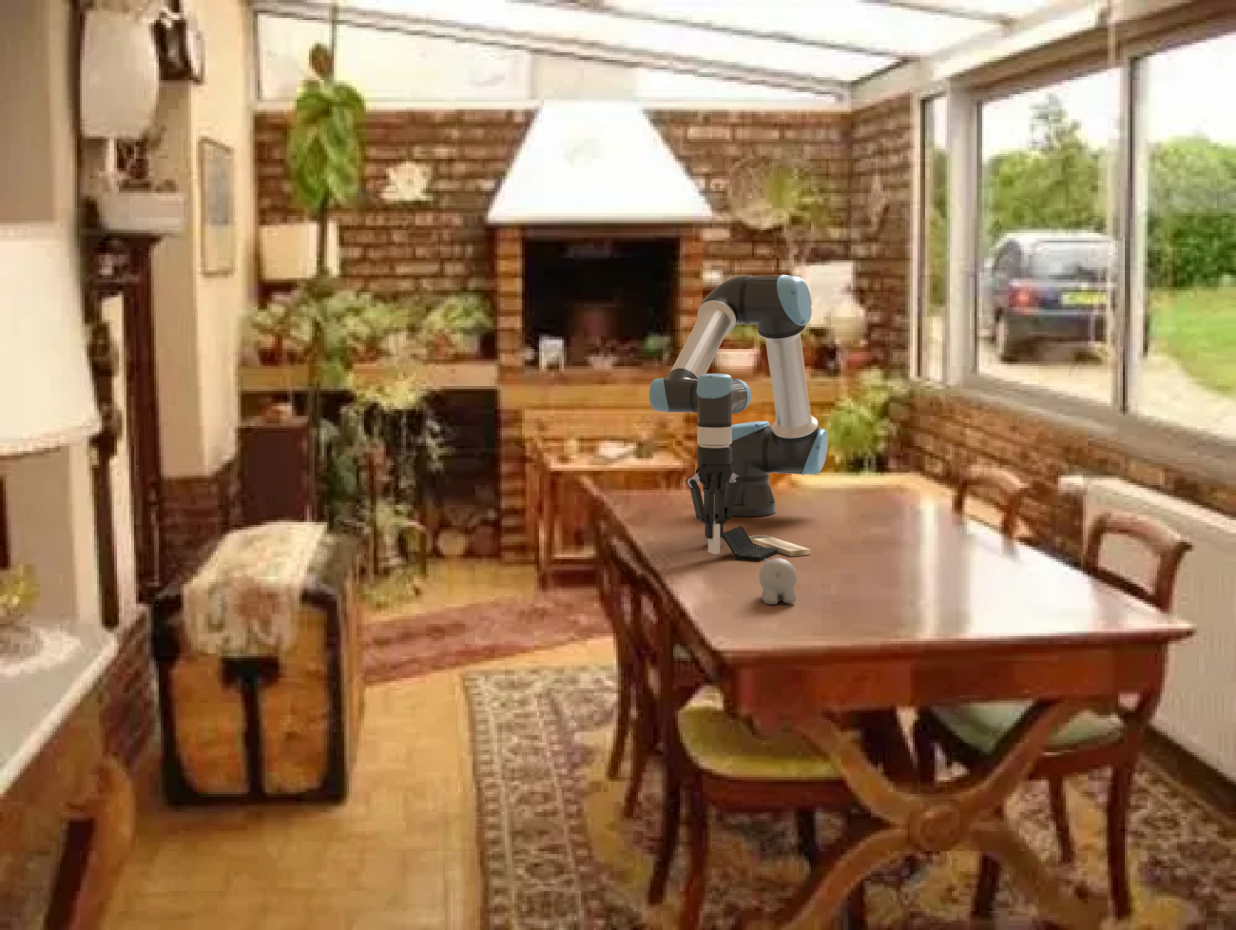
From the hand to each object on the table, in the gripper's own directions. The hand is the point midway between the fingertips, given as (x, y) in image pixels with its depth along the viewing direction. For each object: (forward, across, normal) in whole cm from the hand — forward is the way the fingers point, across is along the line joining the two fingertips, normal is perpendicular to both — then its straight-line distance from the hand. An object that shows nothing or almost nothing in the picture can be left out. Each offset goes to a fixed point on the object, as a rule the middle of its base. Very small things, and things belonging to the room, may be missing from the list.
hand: (713, 552), depth 336 cm
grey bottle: (+1, -8, -15) cm, 17 cm away
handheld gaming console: (+2, -9, 0) cm, 9 cm away
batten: (+1, -19, -5) cm, 20 cm away
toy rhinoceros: (+2, +8, +40) cm, 41 cm away
